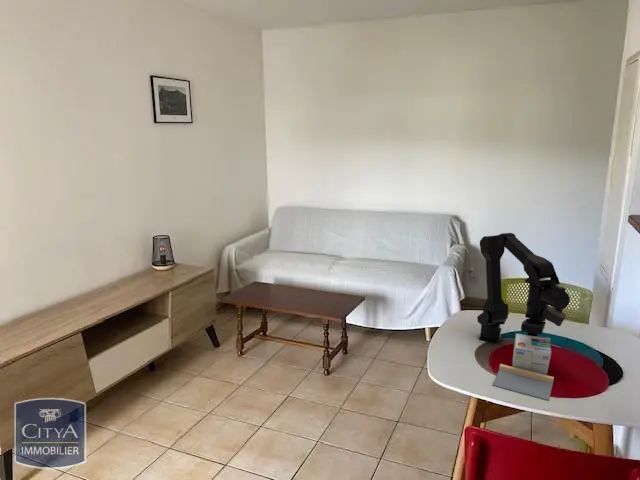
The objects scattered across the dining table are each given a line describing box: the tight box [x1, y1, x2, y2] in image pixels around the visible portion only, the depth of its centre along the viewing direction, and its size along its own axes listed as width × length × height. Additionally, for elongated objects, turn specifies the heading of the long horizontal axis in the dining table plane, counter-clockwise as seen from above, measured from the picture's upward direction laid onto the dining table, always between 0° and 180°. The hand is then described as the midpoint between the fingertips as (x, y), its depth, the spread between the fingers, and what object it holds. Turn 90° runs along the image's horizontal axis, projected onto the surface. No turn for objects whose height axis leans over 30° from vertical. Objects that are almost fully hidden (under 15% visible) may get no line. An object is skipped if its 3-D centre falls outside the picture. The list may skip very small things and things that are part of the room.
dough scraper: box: [491, 363, 555, 401], centre depth 147 cm, size 16×12×2 cm
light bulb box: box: [512, 333, 552, 375], centre depth 154 cm, size 11×7×11 cm, turn 70°
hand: (532, 343), depth 156 cm, fingers closed
